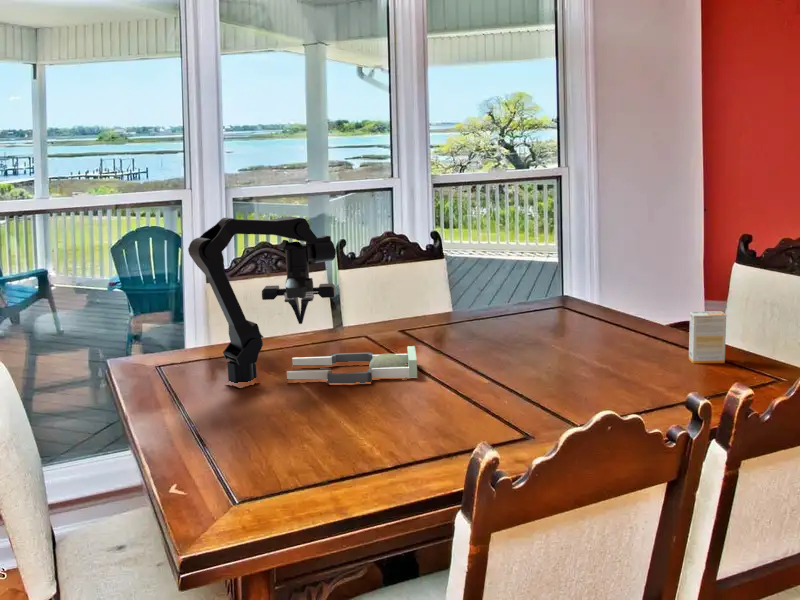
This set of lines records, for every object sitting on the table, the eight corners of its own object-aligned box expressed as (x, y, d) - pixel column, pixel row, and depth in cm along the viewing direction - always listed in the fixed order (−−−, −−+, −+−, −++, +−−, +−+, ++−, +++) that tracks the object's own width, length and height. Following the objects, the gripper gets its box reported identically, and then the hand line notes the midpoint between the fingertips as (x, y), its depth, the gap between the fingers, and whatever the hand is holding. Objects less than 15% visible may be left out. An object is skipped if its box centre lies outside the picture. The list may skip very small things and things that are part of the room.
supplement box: (719, 358, 220) (721, 310, 217) (725, 363, 215) (727, 314, 213) (687, 359, 221) (689, 311, 218) (692, 364, 216) (694, 314, 213)
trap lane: (285, 387, 207) (285, 376, 206) (294, 365, 227) (293, 355, 226) (409, 383, 207) (409, 371, 207) (407, 361, 227) (407, 351, 226)
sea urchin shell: (408, 369, 213) (385, 349, 212) (387, 391, 214) (364, 371, 213) (408, 360, 222) (386, 340, 221) (388, 381, 223) (366, 361, 222)
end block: (409, 379, 211) (408, 360, 210) (407, 364, 224) (407, 346, 223) (417, 378, 211) (416, 359, 210) (415, 364, 224) (414, 346, 224)
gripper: (256, 271, 208) (260, 332, 211) (331, 268, 208) (334, 329, 211) (263, 264, 219) (267, 322, 222) (333, 262, 219) (336, 319, 222)
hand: (300, 323), depth 219 cm, fingers closed
